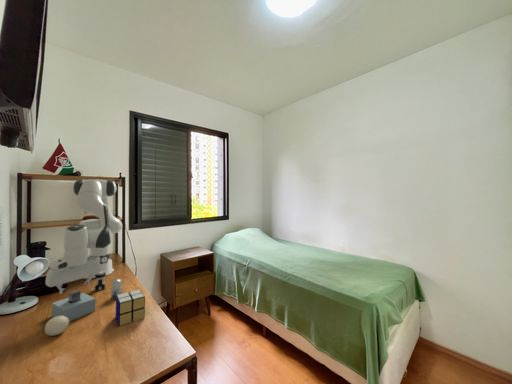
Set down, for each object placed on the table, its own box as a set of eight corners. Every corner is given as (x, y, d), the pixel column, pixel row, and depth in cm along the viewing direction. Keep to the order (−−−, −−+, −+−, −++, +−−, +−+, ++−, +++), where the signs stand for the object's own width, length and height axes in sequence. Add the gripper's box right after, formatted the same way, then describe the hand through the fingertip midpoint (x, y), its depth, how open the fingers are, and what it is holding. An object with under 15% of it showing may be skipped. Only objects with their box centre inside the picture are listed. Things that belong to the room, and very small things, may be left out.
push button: (91, 292, 122) (91, 275, 122) (91, 289, 126) (92, 272, 126) (105, 289, 126) (105, 272, 126) (105, 286, 130) (105, 270, 130)
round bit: (109, 297, 116) (110, 280, 116) (119, 294, 120) (119, 278, 120) (114, 299, 113) (114, 282, 114) (123, 296, 118) (123, 279, 118)
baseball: (73, 330, 88) (73, 313, 88) (51, 341, 81) (51, 323, 81) (62, 326, 90) (63, 310, 90) (40, 337, 83) (41, 319, 83)
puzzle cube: (115, 316, 98) (116, 294, 98) (139, 309, 104) (140, 288, 105) (118, 327, 90) (119, 303, 90) (144, 318, 97) (145, 296, 97)
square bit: (68, 312, 100) (69, 292, 100) (76, 308, 102) (77, 290, 103) (71, 313, 98) (72, 294, 98) (79, 310, 101) (80, 291, 101)
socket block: (51, 316, 98) (52, 302, 98) (83, 304, 108) (83, 292, 108) (63, 323, 92) (63, 309, 92) (95, 310, 102) (95, 298, 103)
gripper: (97, 253, 112) (96, 280, 111) (44, 264, 94) (43, 296, 94) (103, 255, 109) (102, 282, 108) (50, 267, 91) (49, 299, 90)
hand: (75, 289), depth 101 cm, fingers open, 8 cm apart
